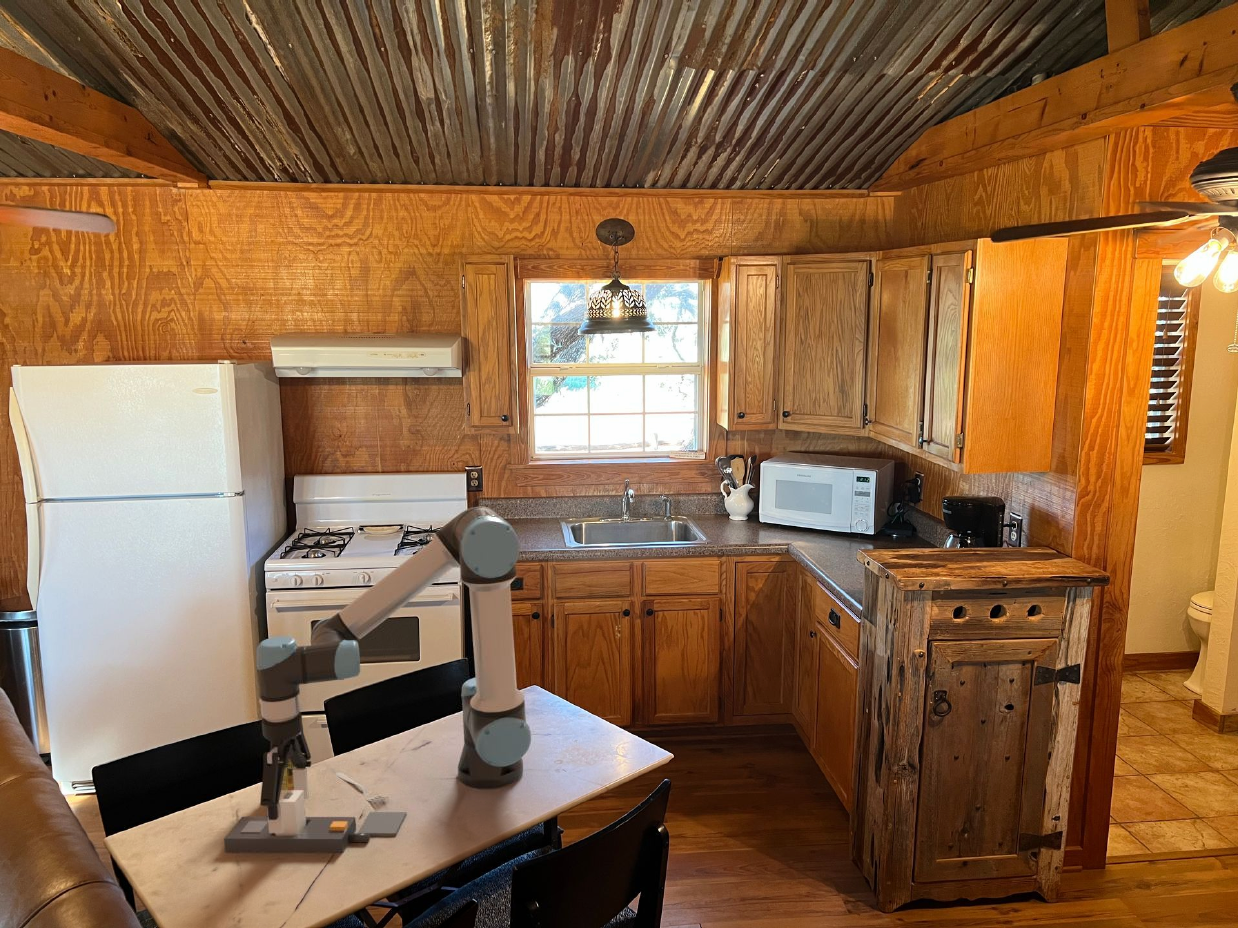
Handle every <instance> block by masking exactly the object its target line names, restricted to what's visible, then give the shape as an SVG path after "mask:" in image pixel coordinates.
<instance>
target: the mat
mask: <svg viewBox="0 0 1238 928" xmlns="http://www.w3.org/2000/svg"><path fill="white" fill-rule="evenodd" d="M406 817H407V811H369V812H368V815H367V816H366V818H365V819H364V821H363V823H362V824H361V826H360V828H359V830H358V831H357V834H370V837H379V836H380V837H396V836H397V835H398V834H399V831H400V828H401V827H402V825H403V823H404V821H405V819H406Z"/></svg>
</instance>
